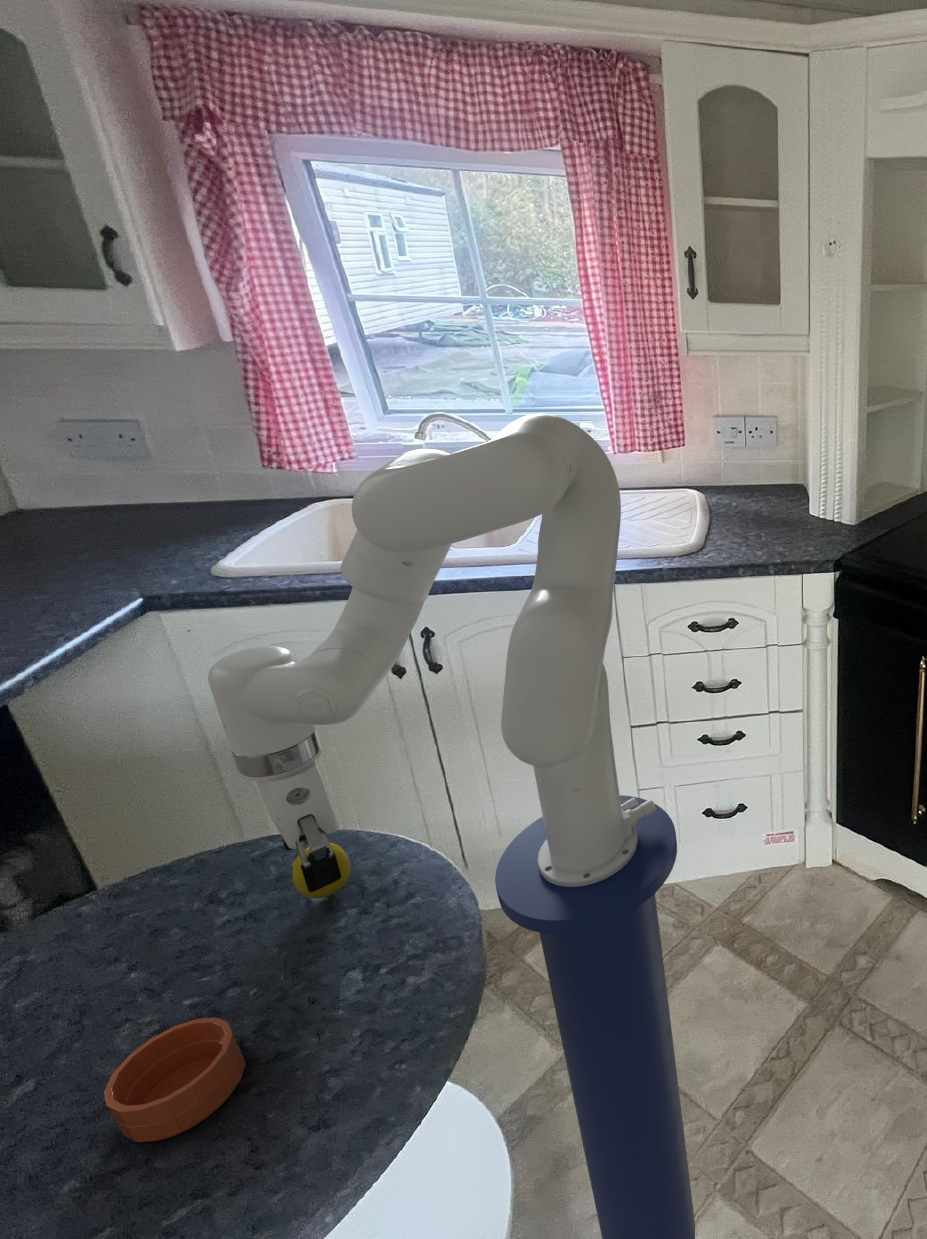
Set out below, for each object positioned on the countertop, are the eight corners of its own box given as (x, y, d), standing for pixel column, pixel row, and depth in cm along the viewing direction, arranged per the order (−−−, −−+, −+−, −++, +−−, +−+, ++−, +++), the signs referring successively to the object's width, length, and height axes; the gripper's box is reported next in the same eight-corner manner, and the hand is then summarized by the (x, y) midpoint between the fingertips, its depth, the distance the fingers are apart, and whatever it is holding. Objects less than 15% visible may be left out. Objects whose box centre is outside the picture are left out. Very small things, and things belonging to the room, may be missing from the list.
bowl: (235, 1034, 76) (220, 1001, 74) (256, 1091, 71) (240, 1056, 69) (118, 1100, 70) (99, 1066, 68) (132, 1168, 65) (111, 1132, 63)
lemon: (366, 887, 94) (350, 839, 91) (317, 919, 89) (299, 869, 86) (342, 871, 96) (326, 823, 93) (293, 901, 92) (275, 851, 89)
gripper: (341, 768, 82) (372, 883, 88) (297, 707, 92) (328, 814, 98) (255, 800, 77) (295, 921, 83) (218, 732, 86) (256, 844, 93)
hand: (313, 863), depth 91 cm, fingers open, 9 cm apart
